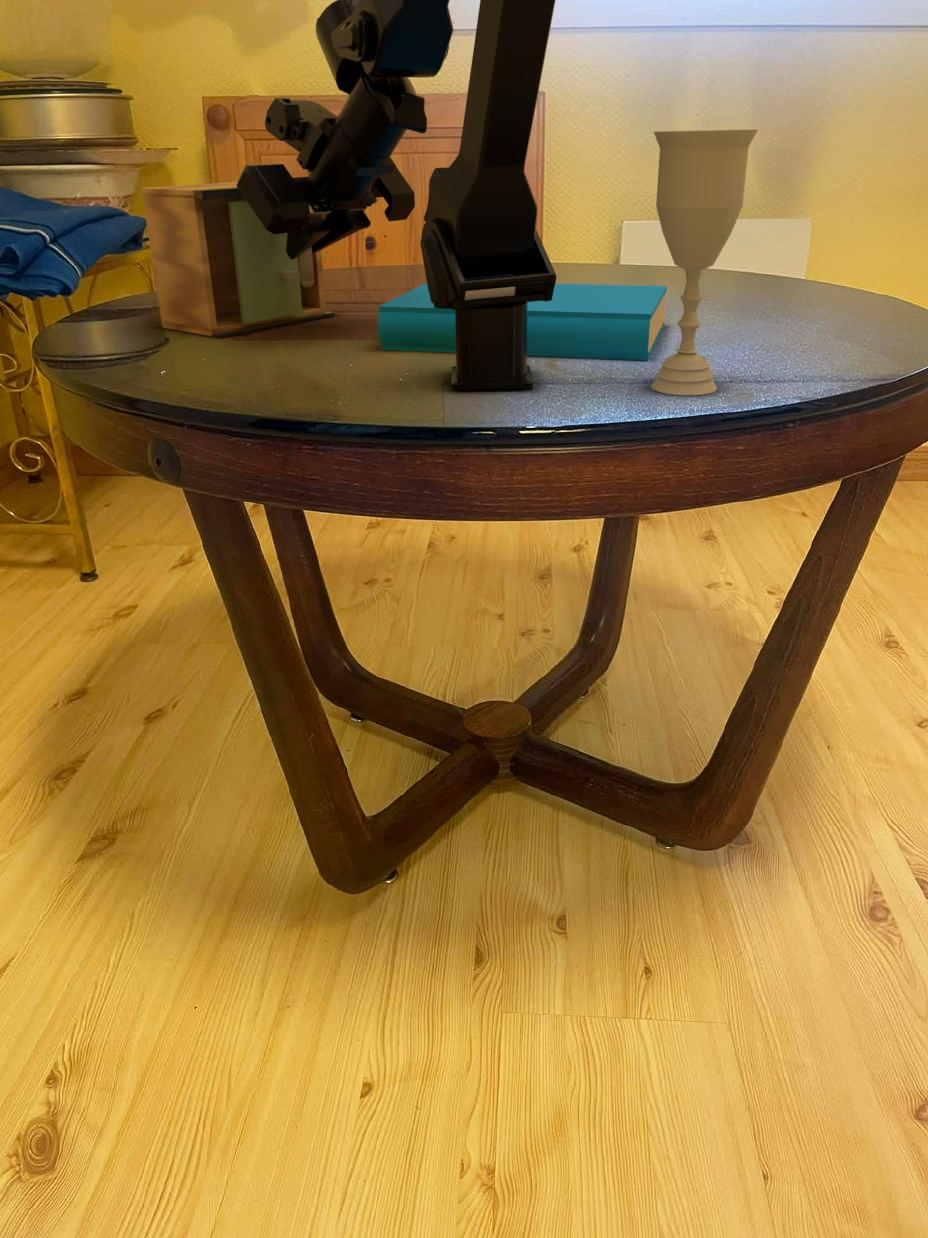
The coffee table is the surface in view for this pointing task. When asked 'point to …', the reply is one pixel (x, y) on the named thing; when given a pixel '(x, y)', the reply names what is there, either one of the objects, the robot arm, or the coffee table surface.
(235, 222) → the door
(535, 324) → the book
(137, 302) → the coffee table surface
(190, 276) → the cupboard
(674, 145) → the chalice
